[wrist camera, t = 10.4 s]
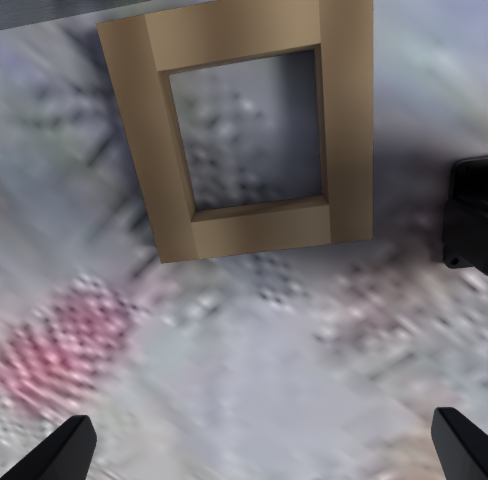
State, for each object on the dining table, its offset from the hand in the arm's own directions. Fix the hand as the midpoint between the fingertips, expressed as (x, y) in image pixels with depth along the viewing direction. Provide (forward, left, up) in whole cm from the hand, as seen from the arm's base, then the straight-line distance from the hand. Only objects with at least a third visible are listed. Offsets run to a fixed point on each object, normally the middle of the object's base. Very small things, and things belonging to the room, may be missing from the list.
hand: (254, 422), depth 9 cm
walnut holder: (0, -6, -13) cm, 14 cm away
